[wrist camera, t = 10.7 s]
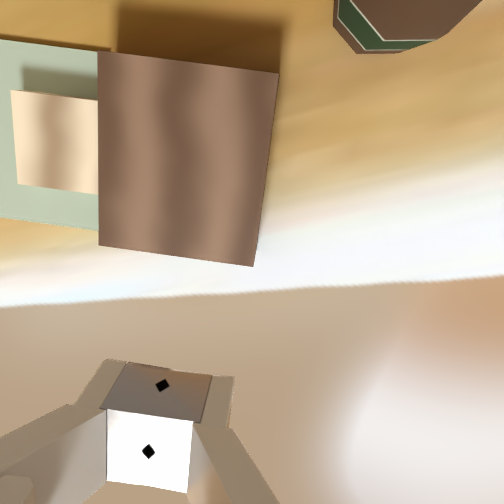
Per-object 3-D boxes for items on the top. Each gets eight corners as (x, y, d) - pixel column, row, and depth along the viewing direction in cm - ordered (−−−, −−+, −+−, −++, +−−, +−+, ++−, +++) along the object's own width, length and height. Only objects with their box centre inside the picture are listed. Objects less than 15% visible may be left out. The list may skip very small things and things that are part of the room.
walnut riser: (279, 75, 36) (278, 73, 32) (255, 251, 42) (253, 266, 38) (116, 54, 36) (97, 50, 33) (115, 231, 42) (98, 245, 38)
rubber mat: (110, 53, 36) (108, 53, 36) (110, 231, 42) (108, 232, 42) (-27, 36, 37) (-30, 35, 36) (-9, 214, 42) (-12, 215, 42)
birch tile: (113, 101, 37) (104, 101, 36) (113, 190, 40) (104, 195, 38) (23, 89, 38) (10, 89, 36) (30, 179, 40) (17, 184, 39)
